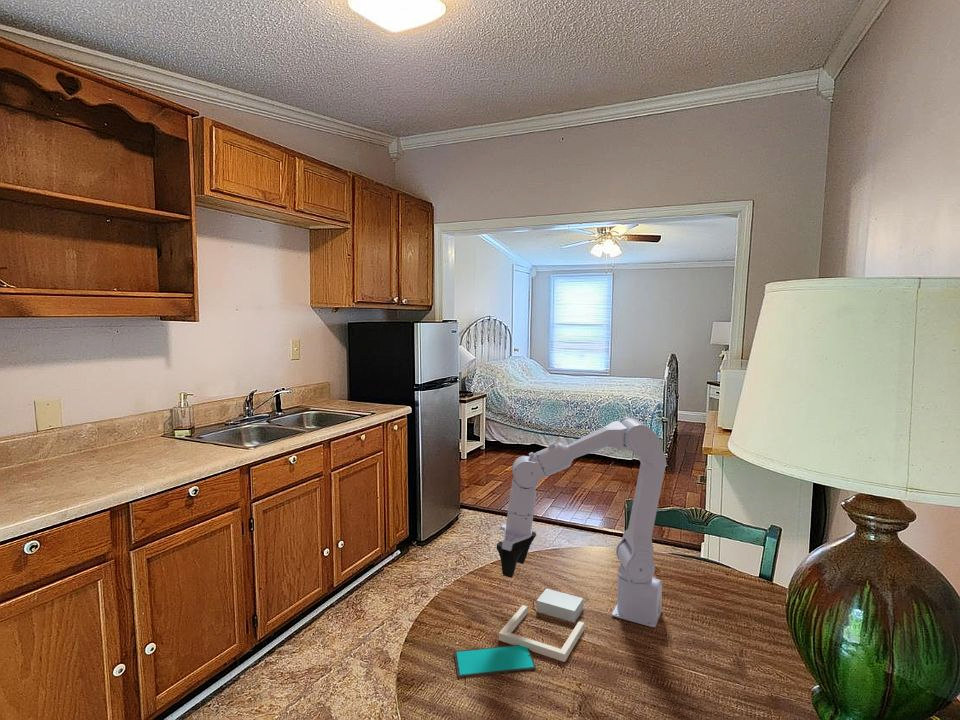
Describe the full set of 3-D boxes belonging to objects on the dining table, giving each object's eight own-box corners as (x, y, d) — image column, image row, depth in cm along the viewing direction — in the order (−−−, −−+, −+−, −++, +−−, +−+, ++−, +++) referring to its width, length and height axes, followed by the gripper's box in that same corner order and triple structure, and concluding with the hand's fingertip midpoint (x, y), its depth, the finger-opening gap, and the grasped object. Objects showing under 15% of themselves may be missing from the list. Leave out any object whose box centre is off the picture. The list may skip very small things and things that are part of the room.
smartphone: (453, 651, 106) (527, 643, 108) (453, 655, 106) (527, 647, 108) (457, 676, 99) (536, 667, 101) (457, 680, 99) (536, 672, 101)
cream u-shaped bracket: (584, 629, 114) (584, 622, 113) (564, 662, 103) (564, 654, 103) (522, 611, 121) (522, 604, 120) (498, 640, 110) (498, 632, 110)
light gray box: (583, 610, 122) (583, 598, 121) (574, 624, 116) (574, 611, 116) (546, 600, 126) (546, 588, 126) (536, 613, 121) (536, 600, 120)
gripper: (515, 497, 126) (508, 552, 127) (492, 516, 113) (484, 576, 114) (543, 504, 123) (536, 560, 125) (523, 525, 110) (515, 587, 111)
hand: (513, 569), depth 119 cm, fingers open, 7 cm apart
